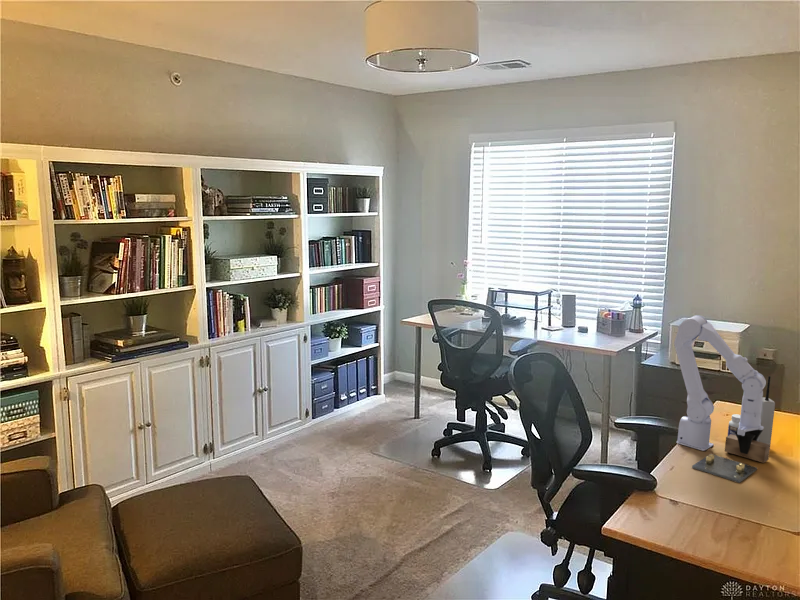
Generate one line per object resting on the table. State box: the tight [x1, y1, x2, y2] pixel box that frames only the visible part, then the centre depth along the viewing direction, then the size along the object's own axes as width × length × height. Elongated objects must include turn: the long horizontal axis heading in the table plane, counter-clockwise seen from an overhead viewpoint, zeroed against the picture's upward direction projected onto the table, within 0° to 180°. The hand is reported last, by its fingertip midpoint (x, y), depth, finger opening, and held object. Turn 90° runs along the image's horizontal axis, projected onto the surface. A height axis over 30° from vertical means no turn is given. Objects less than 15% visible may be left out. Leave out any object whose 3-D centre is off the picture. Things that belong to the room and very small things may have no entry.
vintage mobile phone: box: [757, 375, 776, 446], centre depth 218 cm, size 4×5×25 cm
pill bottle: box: [727, 413, 741, 436], centre depth 223 cm, size 5×5×10 cm
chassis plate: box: [691, 453, 758, 484], centre depth 202 cm, size 14×14×3 cm
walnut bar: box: [724, 434, 771, 463], centre depth 211 cm, size 12×4×5 cm, turn 43°
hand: (746, 451), depth 211 cm, fingers closed on walnut bar, 4 cm apart
